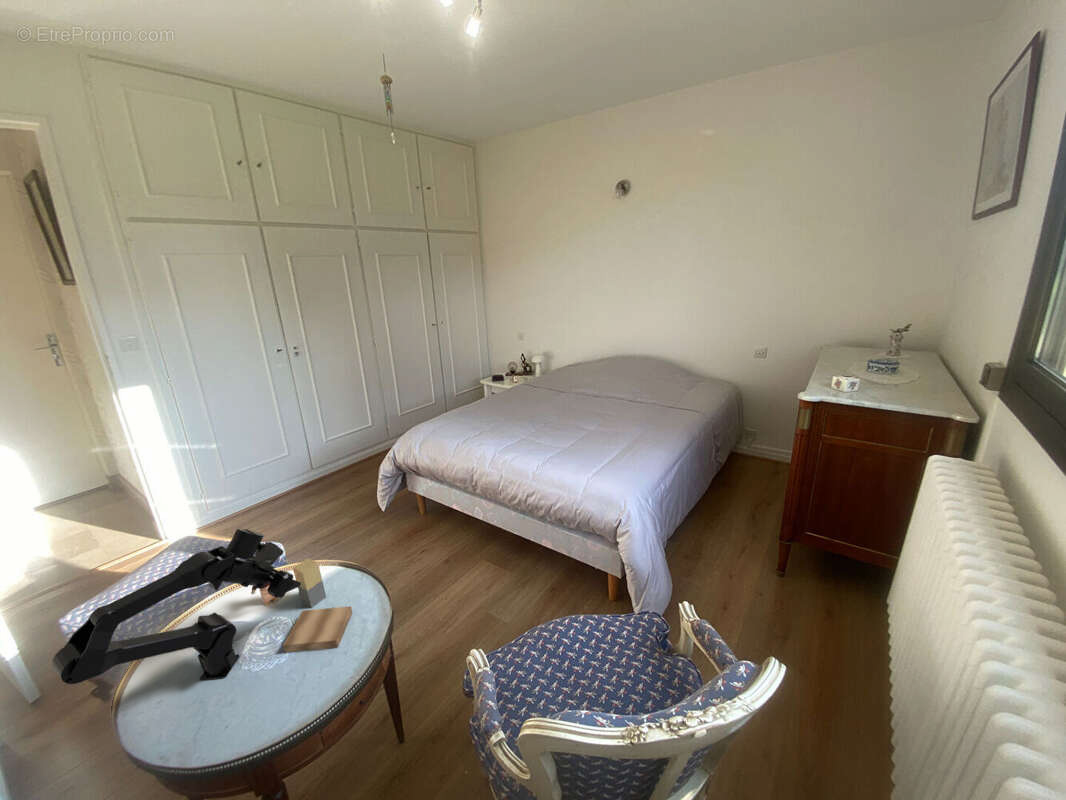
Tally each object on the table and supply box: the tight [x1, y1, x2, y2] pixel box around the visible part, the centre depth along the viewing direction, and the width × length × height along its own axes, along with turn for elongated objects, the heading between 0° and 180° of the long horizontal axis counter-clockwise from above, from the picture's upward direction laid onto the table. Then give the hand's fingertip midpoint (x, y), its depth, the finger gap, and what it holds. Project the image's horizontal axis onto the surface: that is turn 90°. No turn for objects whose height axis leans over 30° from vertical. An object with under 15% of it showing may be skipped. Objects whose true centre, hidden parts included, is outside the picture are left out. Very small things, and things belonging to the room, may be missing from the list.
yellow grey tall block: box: [292, 557, 327, 609], centre depth 131 cm, size 5×5×13 cm
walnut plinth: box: [282, 606, 353, 653], centre depth 121 cm, size 14×12×2 cm
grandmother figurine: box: [250, 581, 280, 606], centre depth 131 cm, size 8×4×13 cm, turn 144°
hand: (290, 579), depth 126 cm, fingers open, 9 cm apart
